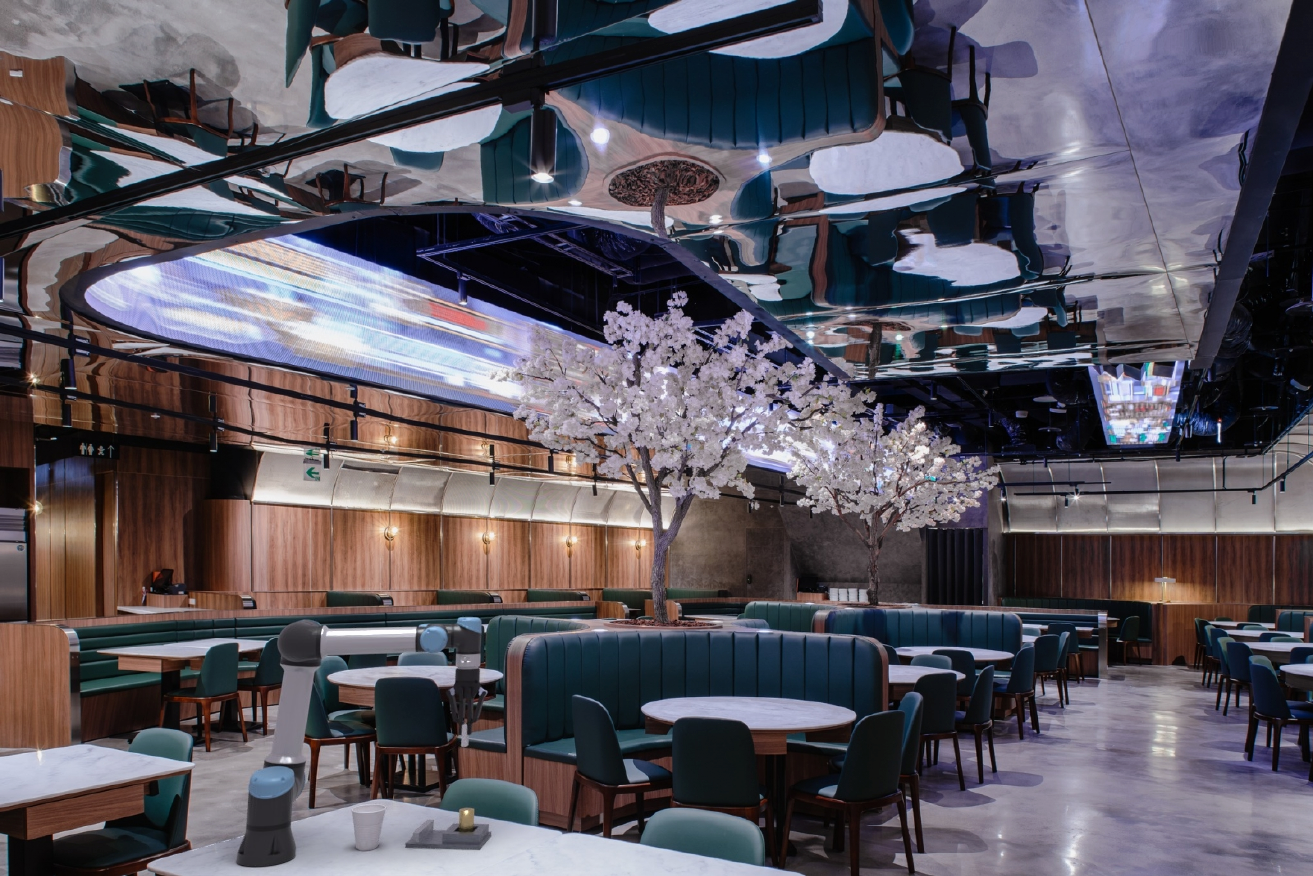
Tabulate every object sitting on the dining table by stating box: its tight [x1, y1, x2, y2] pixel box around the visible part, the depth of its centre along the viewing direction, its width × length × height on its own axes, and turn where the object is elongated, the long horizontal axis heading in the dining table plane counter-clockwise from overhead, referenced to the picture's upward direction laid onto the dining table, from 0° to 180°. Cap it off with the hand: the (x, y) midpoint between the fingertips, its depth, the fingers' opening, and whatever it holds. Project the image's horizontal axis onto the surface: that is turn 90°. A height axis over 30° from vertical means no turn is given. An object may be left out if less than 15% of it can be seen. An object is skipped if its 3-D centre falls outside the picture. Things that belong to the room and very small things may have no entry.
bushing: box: [458, 807, 475, 832], centre depth 266 cm, size 4×4×8 cm
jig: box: [404, 819, 492, 851], centre depth 266 cm, size 22×14×4 cm, turn 87°
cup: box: [351, 803, 388, 852], centre depth 260 cm, size 10×10×11 cm
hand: (464, 745), depth 276 cm, fingers closed
